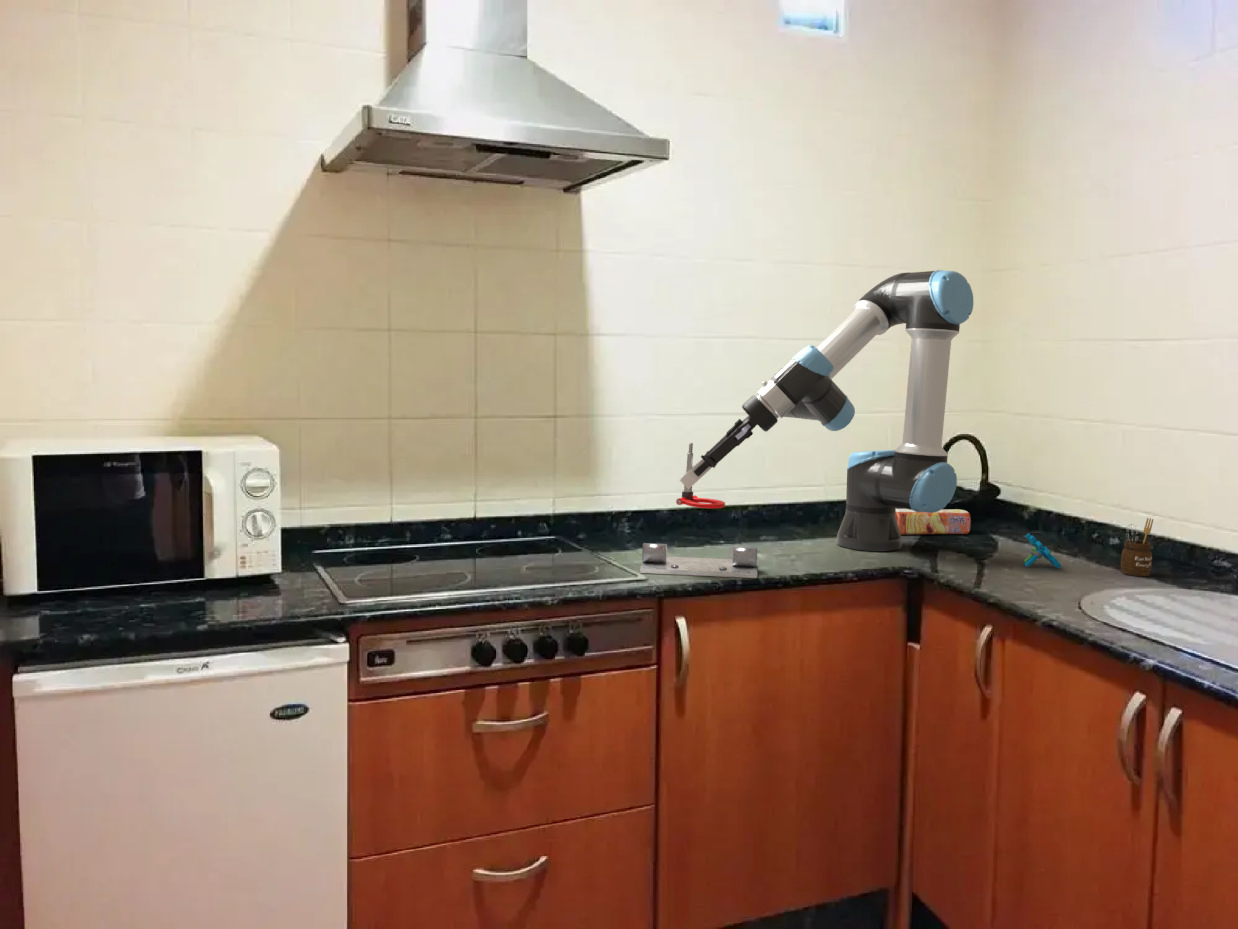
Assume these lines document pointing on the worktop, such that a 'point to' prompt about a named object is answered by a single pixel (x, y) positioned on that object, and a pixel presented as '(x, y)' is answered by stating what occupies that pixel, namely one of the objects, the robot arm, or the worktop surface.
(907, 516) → the snack package
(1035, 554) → the gear
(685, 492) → the tow hook
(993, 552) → the worktop surface
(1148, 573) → the utensil holder
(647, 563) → the hinge leaf
